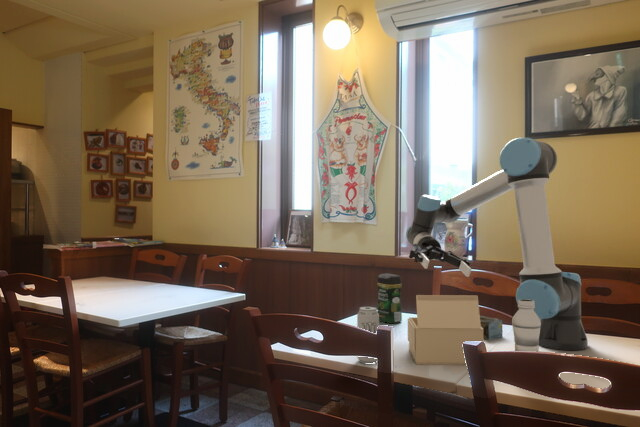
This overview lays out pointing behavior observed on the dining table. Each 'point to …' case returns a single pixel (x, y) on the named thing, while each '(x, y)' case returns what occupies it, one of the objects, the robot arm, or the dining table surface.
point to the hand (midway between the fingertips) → (448, 268)
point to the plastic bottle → (526, 326)
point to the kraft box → (439, 343)
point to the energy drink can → (368, 325)
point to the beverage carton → (491, 327)
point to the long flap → (448, 311)
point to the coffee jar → (389, 298)
